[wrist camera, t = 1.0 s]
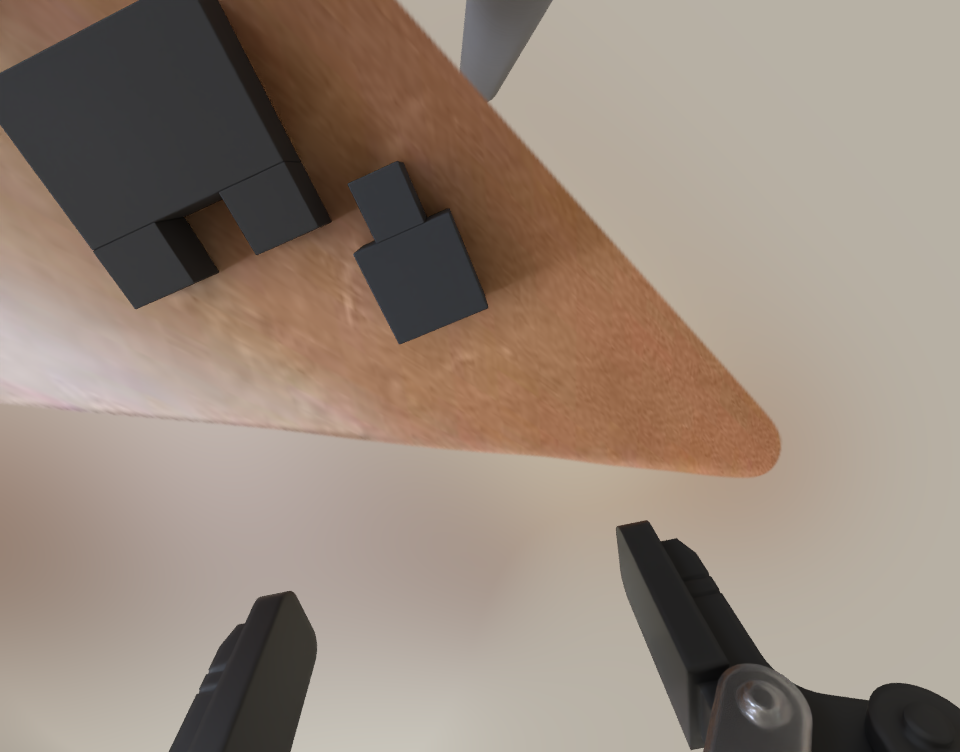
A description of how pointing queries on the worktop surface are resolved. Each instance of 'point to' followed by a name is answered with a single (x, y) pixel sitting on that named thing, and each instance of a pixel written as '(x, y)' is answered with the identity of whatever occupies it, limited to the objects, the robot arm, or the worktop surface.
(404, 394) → the worktop surface
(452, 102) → the worktop surface
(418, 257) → the pad
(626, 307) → the worktop surface
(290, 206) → the base pad
